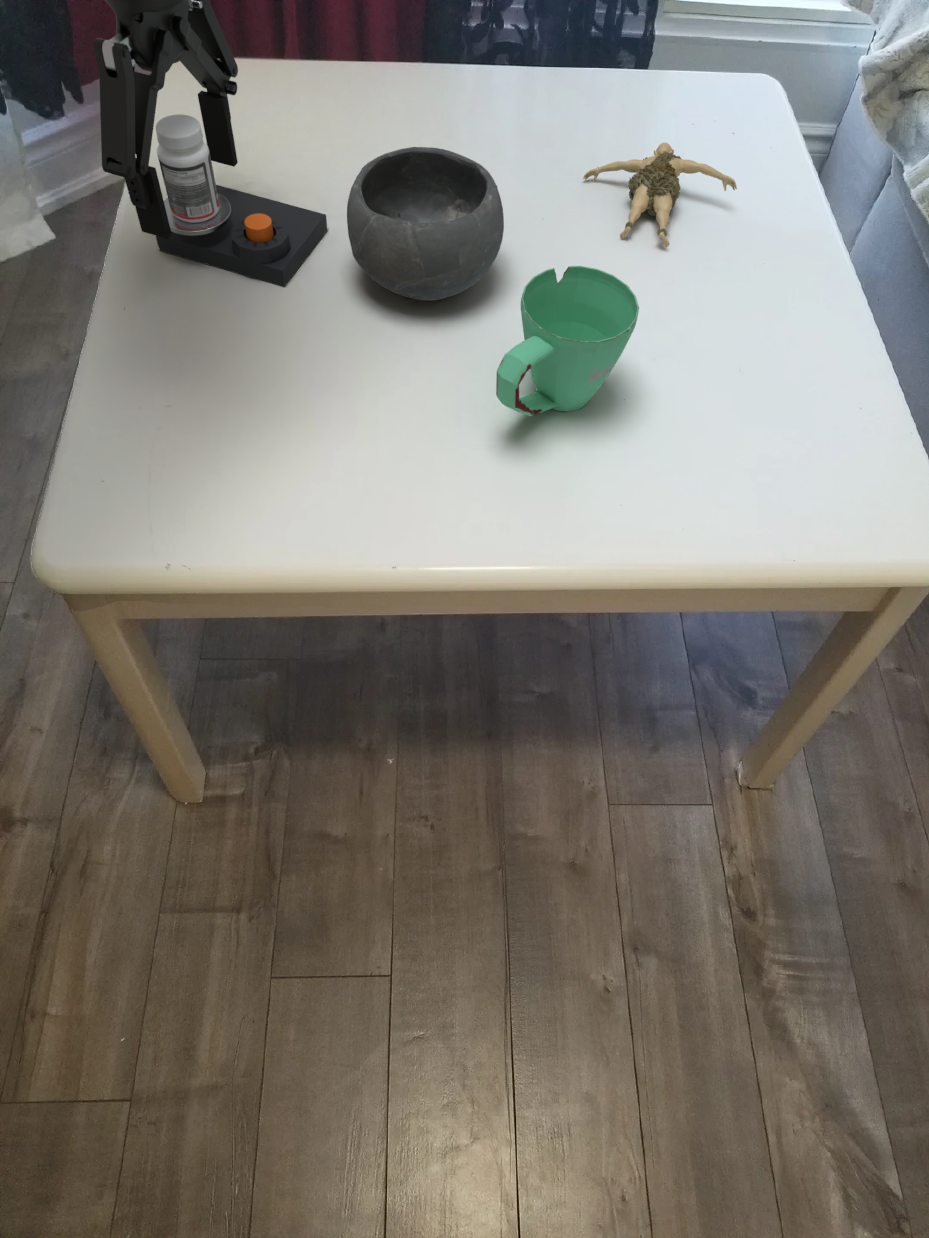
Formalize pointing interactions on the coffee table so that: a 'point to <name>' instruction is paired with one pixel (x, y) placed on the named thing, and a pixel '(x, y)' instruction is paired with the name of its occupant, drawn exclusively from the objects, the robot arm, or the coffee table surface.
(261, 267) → the scale
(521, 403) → the mug
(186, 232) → the scale pan
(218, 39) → the robot arm
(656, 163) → the figurine
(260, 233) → the button
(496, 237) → the bowl
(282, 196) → the coffee table surface
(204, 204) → the pill bottle
